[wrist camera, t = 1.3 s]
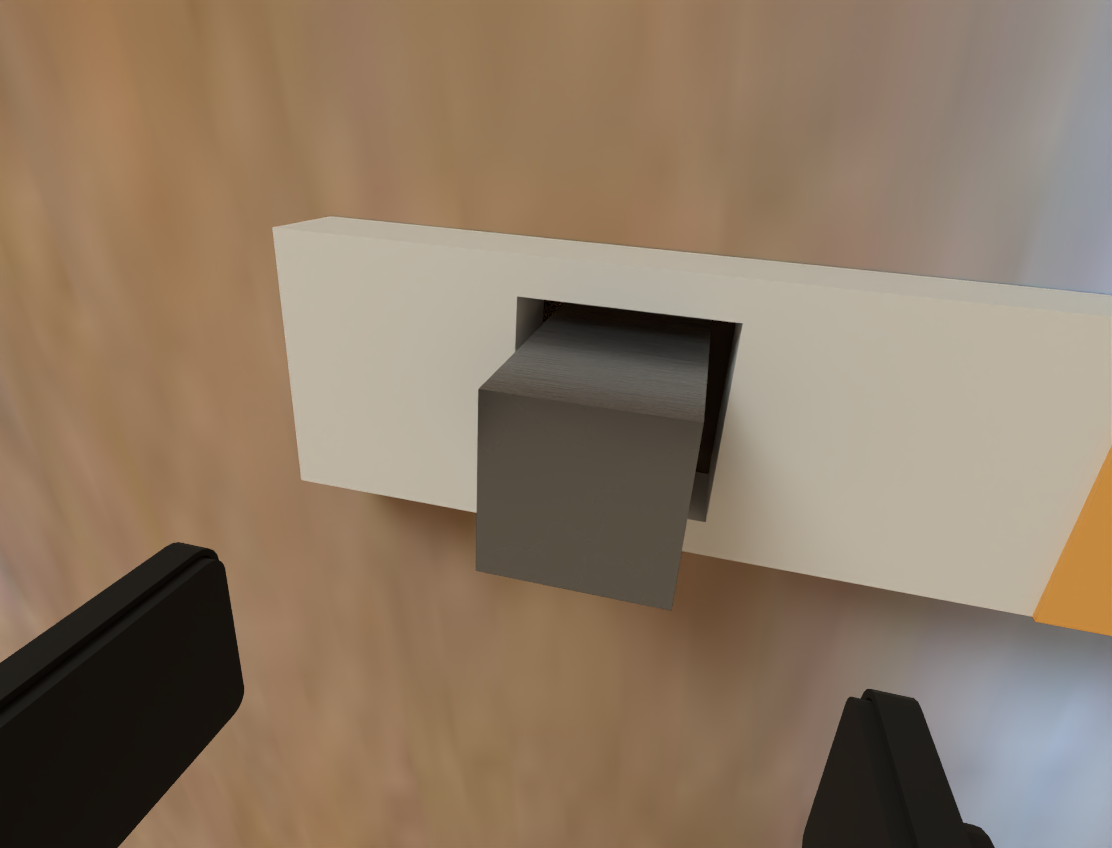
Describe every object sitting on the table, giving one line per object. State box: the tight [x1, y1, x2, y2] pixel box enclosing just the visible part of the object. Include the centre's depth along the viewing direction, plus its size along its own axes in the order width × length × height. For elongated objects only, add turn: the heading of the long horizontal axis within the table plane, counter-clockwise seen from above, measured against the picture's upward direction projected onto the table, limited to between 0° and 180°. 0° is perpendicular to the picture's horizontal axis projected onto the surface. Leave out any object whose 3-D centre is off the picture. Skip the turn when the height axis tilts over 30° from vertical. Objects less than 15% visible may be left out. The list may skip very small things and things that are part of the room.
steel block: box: [476, 302, 712, 611], centre depth 17 cm, size 4×4×8 cm
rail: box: [273, 216, 1112, 636], centre depth 17 cm, size 8×36×3 cm, turn 86°
